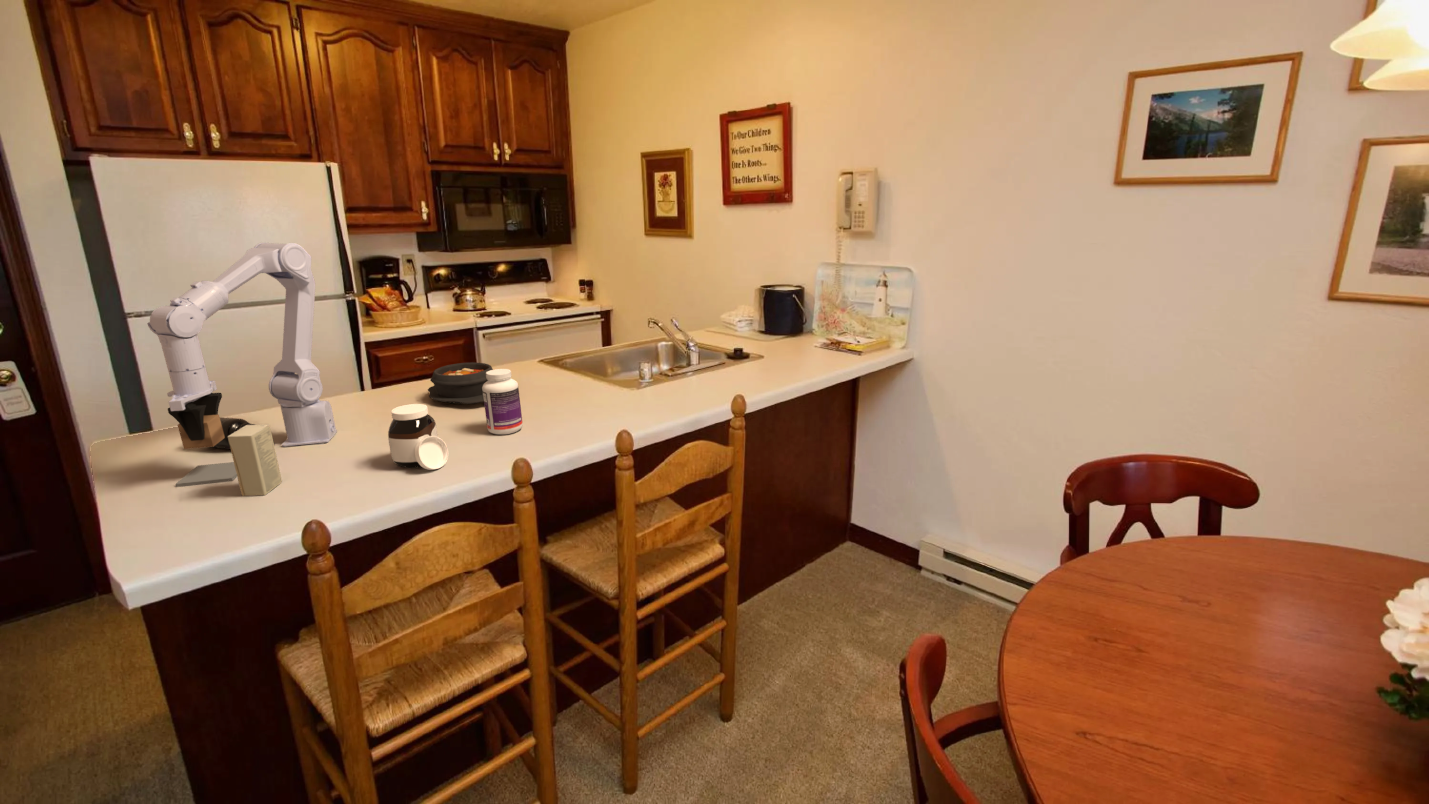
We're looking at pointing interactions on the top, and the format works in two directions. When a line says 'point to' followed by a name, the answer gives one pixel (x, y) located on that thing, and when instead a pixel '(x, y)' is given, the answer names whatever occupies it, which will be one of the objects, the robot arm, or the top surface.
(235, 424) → the supplement bottle
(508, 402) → the pill bottle
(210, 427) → the walnut cube
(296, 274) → the robot arm
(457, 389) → the casserole
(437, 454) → the spread jar
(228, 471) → the slate mat
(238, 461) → the skincare box
